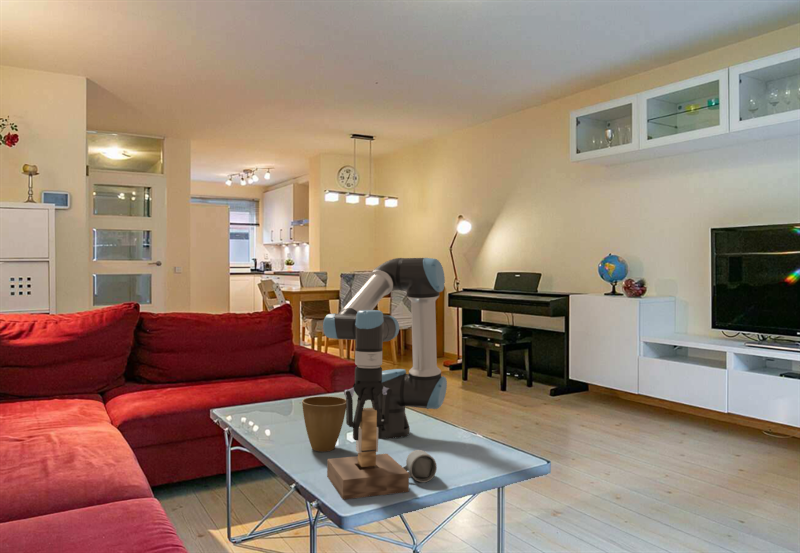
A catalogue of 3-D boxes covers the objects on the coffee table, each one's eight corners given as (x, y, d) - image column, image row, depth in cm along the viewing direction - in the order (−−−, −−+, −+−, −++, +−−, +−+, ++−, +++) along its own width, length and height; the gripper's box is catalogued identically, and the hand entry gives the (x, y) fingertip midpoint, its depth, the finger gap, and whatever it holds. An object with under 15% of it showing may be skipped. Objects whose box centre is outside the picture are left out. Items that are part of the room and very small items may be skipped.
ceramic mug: (428, 472, 169) (428, 445, 169) (437, 481, 161) (437, 454, 161) (393, 475, 167) (393, 448, 167) (400, 484, 159) (400, 457, 159)
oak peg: (371, 461, 161) (372, 407, 161) (375, 465, 157) (376, 410, 157) (357, 462, 160) (358, 408, 160) (361, 466, 156) (362, 411, 156)
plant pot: (303, 456, 182) (304, 406, 182) (299, 443, 196) (300, 396, 196) (350, 453, 186) (350, 404, 186) (342, 441, 200) (343, 395, 200)
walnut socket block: (386, 470, 170) (387, 453, 170) (408, 491, 153) (408, 473, 153) (327, 476, 164) (327, 459, 164) (342, 499, 147) (343, 479, 147)
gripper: (341, 369, 152) (339, 457, 152) (402, 367, 158) (400, 452, 158) (335, 365, 159) (333, 449, 159) (393, 363, 165) (391, 444, 165)
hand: (366, 450), depth 158 cm, fingers closed on oak peg, 4 cm apart
